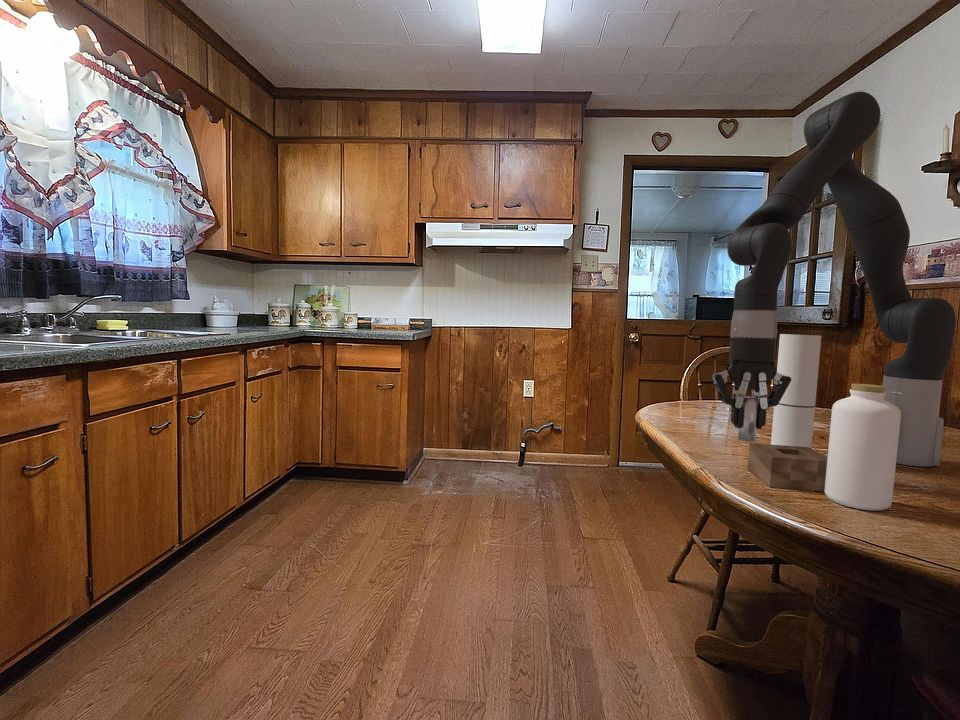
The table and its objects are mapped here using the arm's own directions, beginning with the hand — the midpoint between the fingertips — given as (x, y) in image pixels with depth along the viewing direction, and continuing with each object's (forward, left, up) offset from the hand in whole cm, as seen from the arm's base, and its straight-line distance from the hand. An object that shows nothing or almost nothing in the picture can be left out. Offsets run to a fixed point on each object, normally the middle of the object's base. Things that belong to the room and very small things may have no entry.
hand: (747, 427), depth 97 cm
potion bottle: (-10, +18, -8) cm, 22 cm away
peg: (0, 0, -2) cm, 2 cm away
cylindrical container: (-13, -11, -8) cm, 18 cm away
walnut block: (-5, +8, -7) cm, 12 cm away
